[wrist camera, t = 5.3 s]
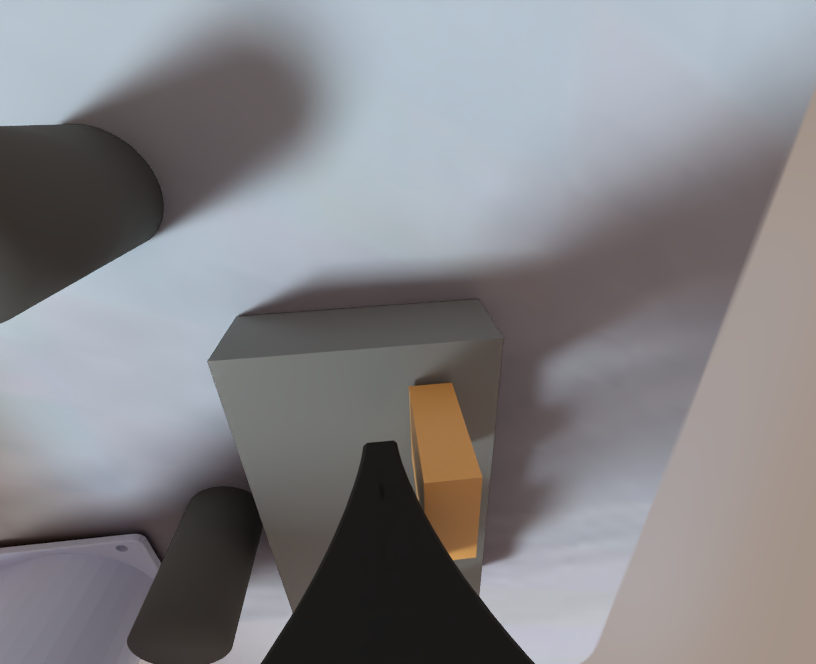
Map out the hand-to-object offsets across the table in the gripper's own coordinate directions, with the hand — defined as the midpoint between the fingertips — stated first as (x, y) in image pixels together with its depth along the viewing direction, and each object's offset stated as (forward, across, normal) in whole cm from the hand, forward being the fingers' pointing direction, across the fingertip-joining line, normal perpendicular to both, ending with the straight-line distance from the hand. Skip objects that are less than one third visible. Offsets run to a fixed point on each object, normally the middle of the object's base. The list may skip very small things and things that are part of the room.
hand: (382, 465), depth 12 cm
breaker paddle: (+2, -2, 0) cm, 2 cm away
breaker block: (+5, 0, +6) cm, 8 cm away
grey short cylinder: (+5, +8, +8) cm, 12 cm away
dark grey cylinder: (+5, +8, -8) cm, 12 cm away
